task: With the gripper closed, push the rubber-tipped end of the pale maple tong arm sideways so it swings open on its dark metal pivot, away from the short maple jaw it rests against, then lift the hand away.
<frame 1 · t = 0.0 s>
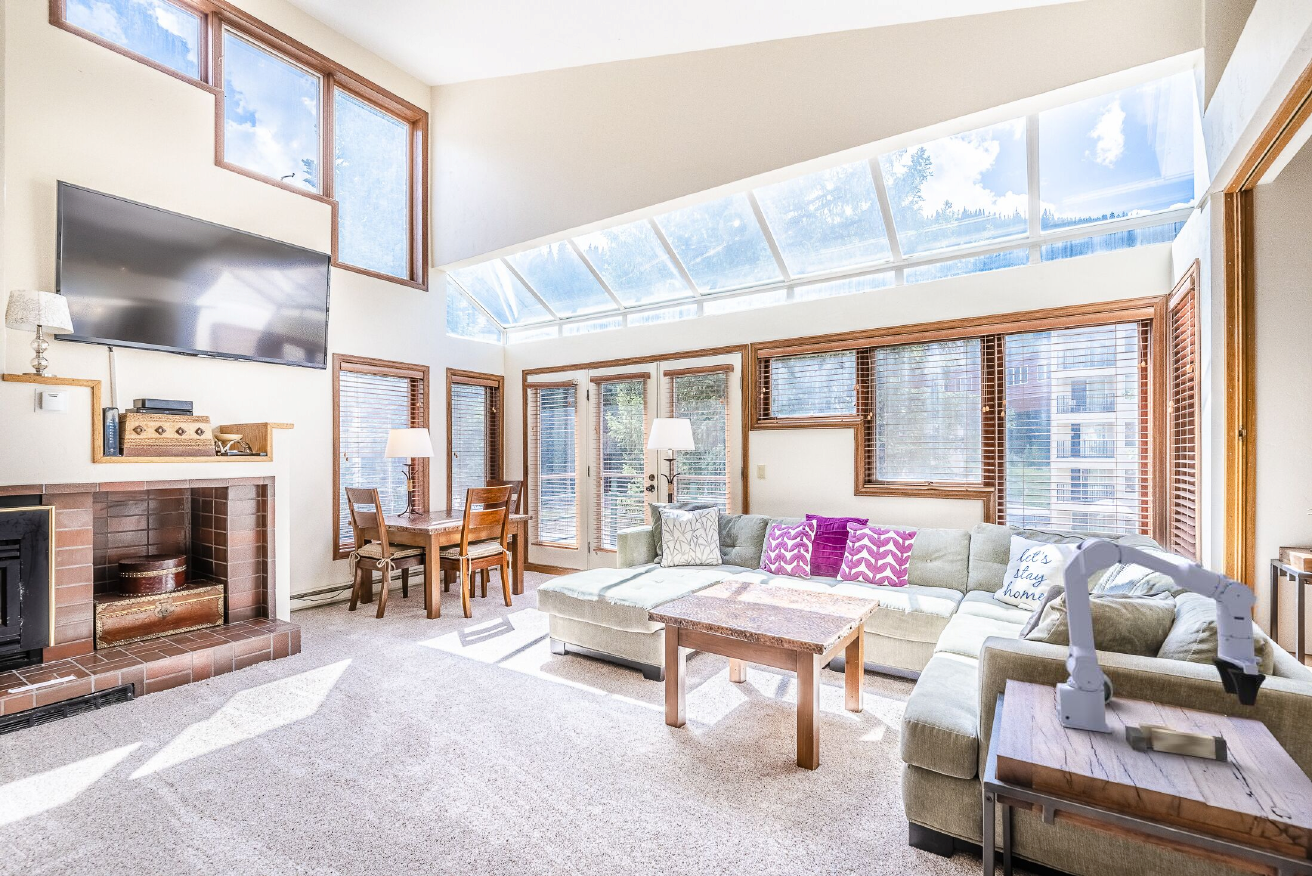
hand: (1239, 698, 133), 10 cm above the table, tool pointing down, fingers open, 7 cm apart
tong pivot: (1150, 749, 131), on the table
tong arm: (1187, 743, 128), point 2 cm above the table, hinge at 0.0°
ceramic mug: (1089, 700, 160), on the table
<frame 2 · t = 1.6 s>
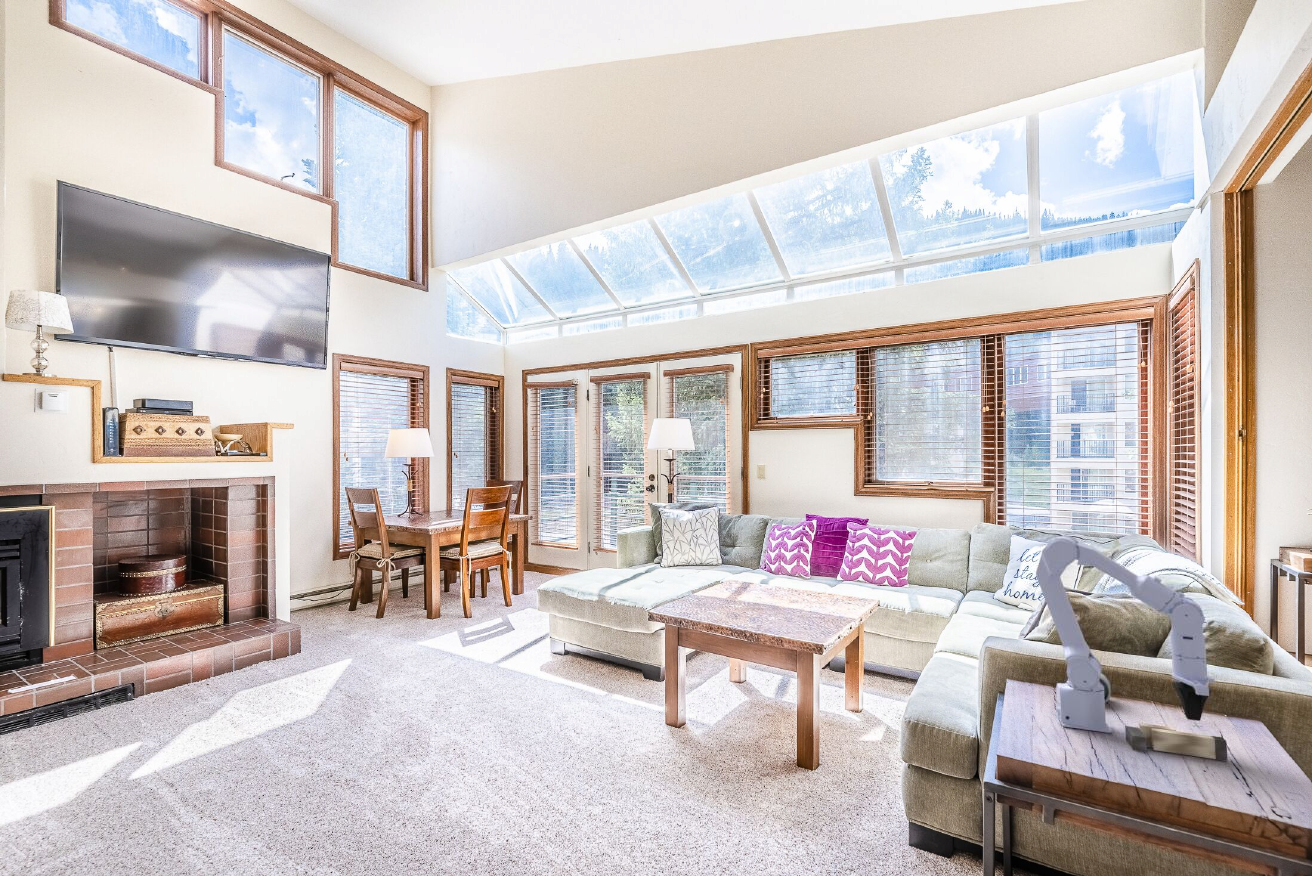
hand: (1193, 719, 132), 6 cm above the table, tool pointing down, fingers closed
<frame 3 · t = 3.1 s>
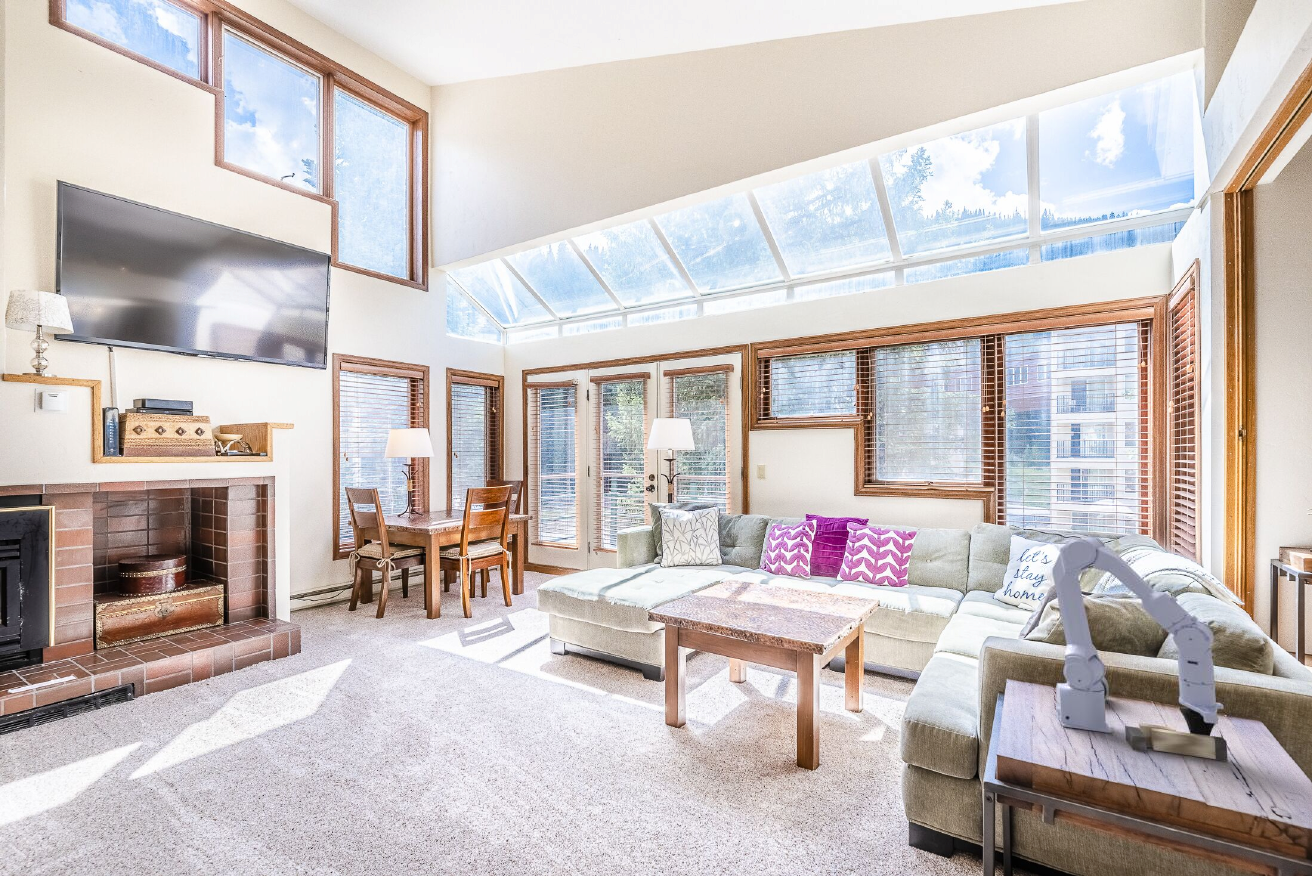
hand: (1200, 746, 129), 2 cm above the table, tool pointing down, fingers closed, pressing on tong arm
tong arm: (1188, 743, 128), point 2 cm above the table, hinge at 0.3°, touching gripper
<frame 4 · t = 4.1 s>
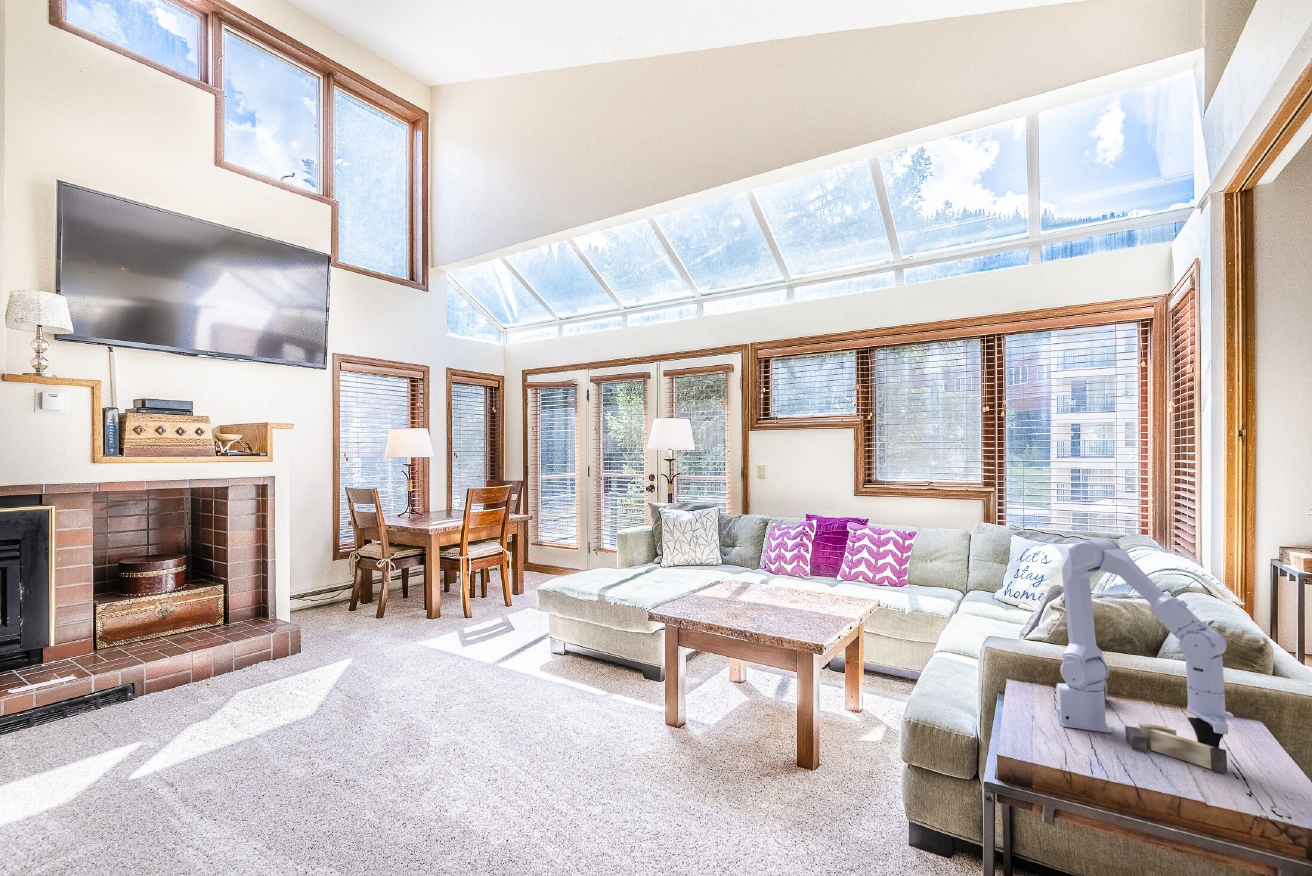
hand: (1209, 756, 124), 1 cm above the table, tool pointing down, fingers closed, pressing on tong arm
tong arm: (1186, 749, 126), point 2 cm above the table, hinge at 35.8°, touching gripper
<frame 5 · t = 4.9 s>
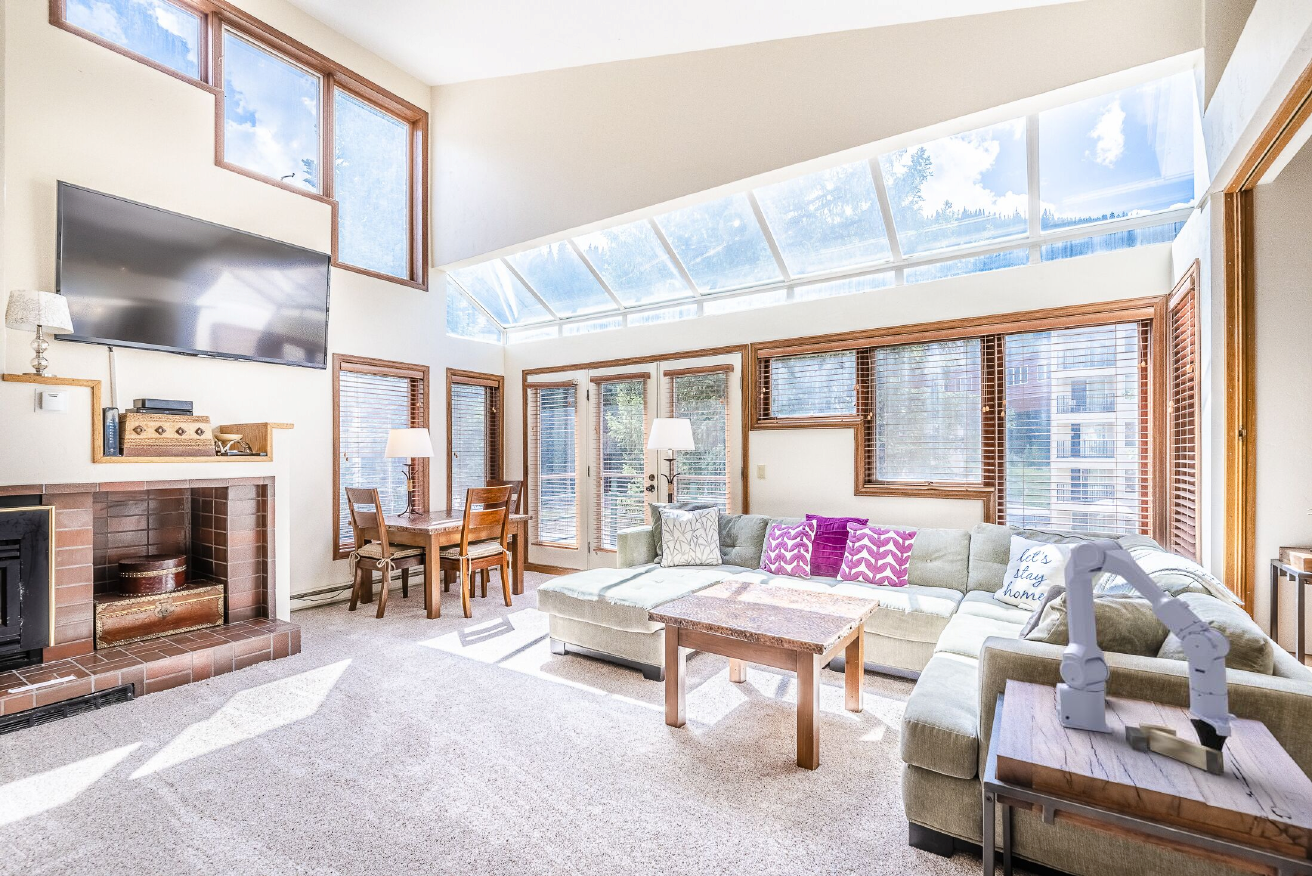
hand: (1212, 759, 123), 2 cm above the table, tool pointing down, fingers closed
tong arm: (1184, 750, 125), point 2 cm above the table, hinge at 43.3°, touching gripper
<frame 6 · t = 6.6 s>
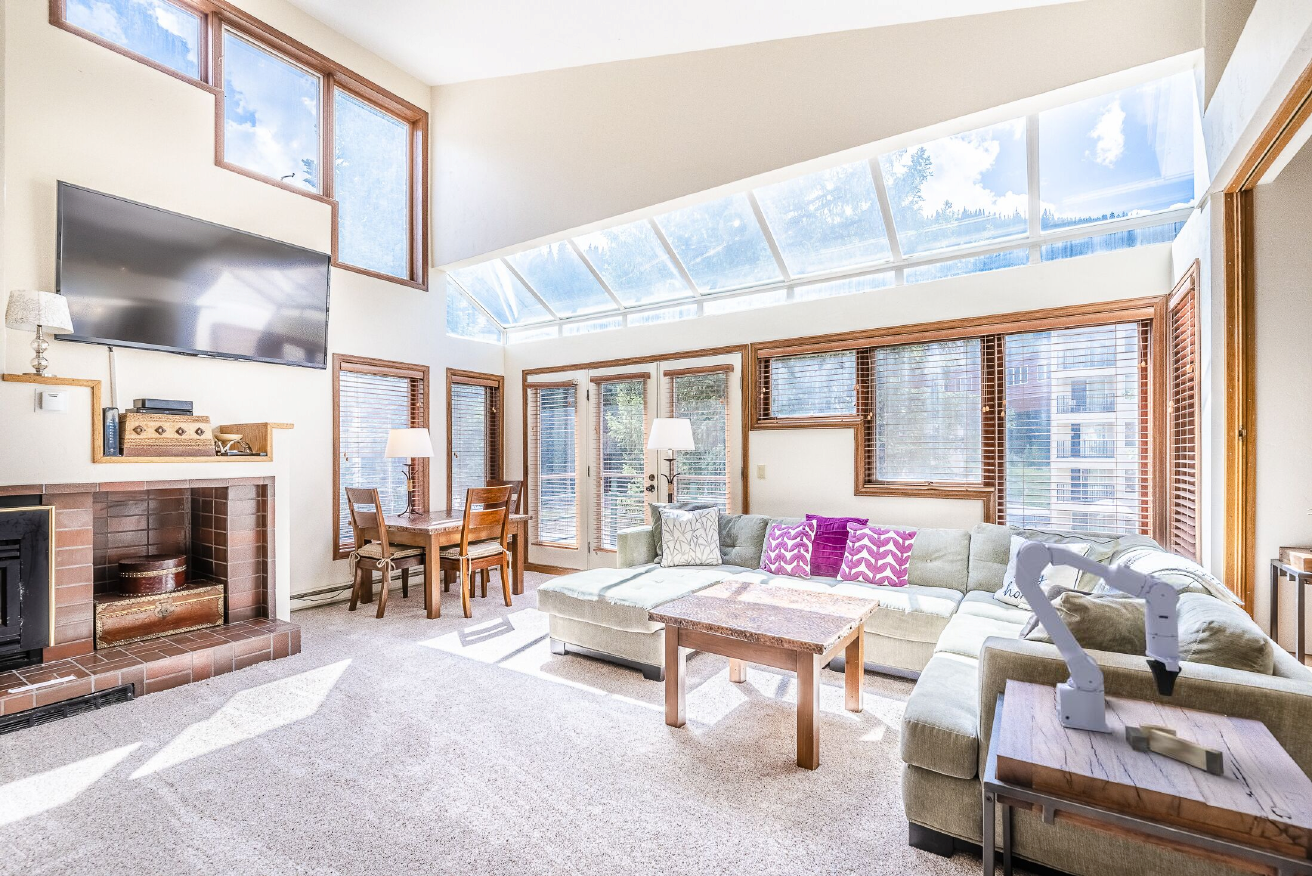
hand: (1165, 694, 138), 9 cm above the table, tool pointing down, fingers closed
tong arm: (1184, 750, 125), point 2 cm above the table, hinge at 43.7°
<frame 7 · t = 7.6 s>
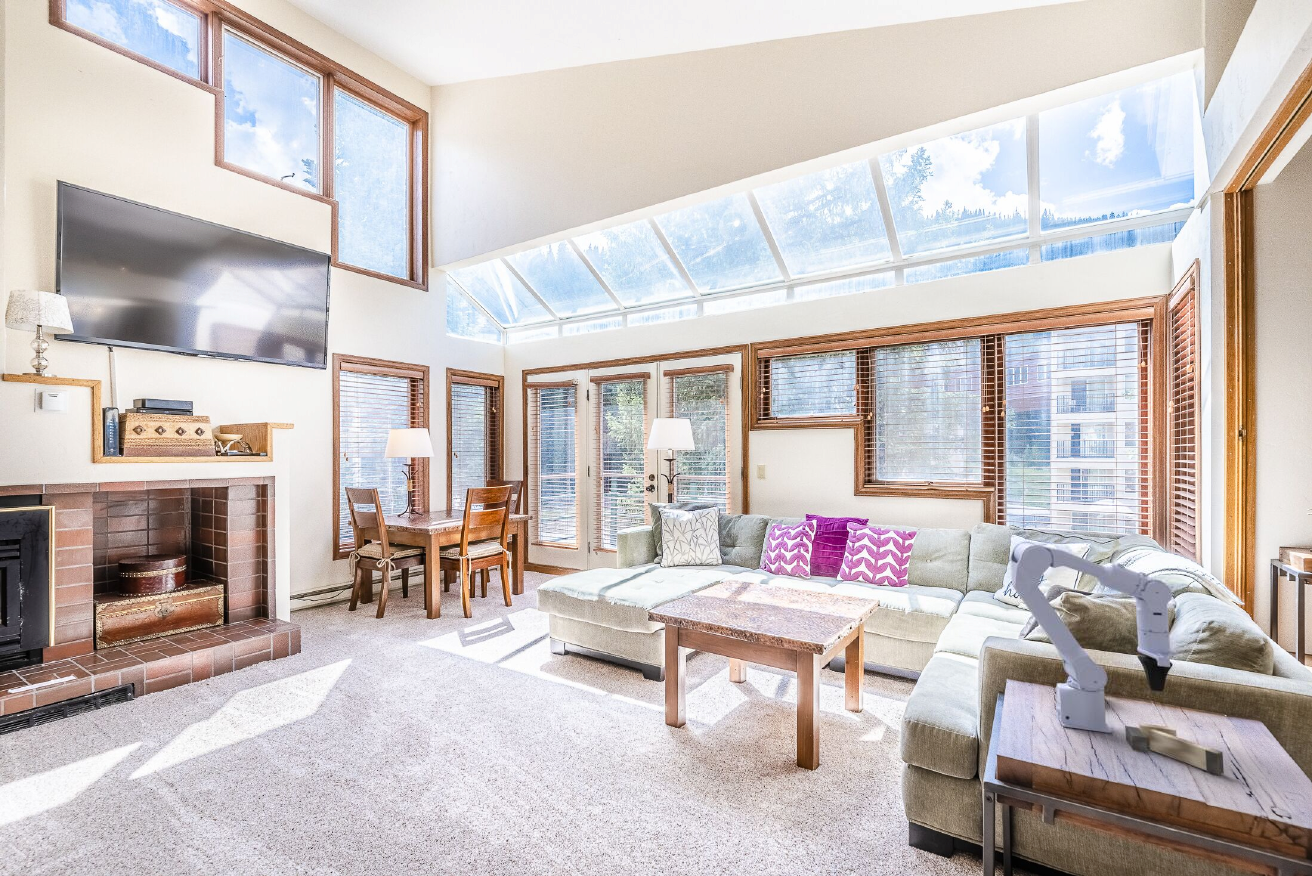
hand: (1156, 690, 141), 9 cm above the table, tool pointing down, fingers closed
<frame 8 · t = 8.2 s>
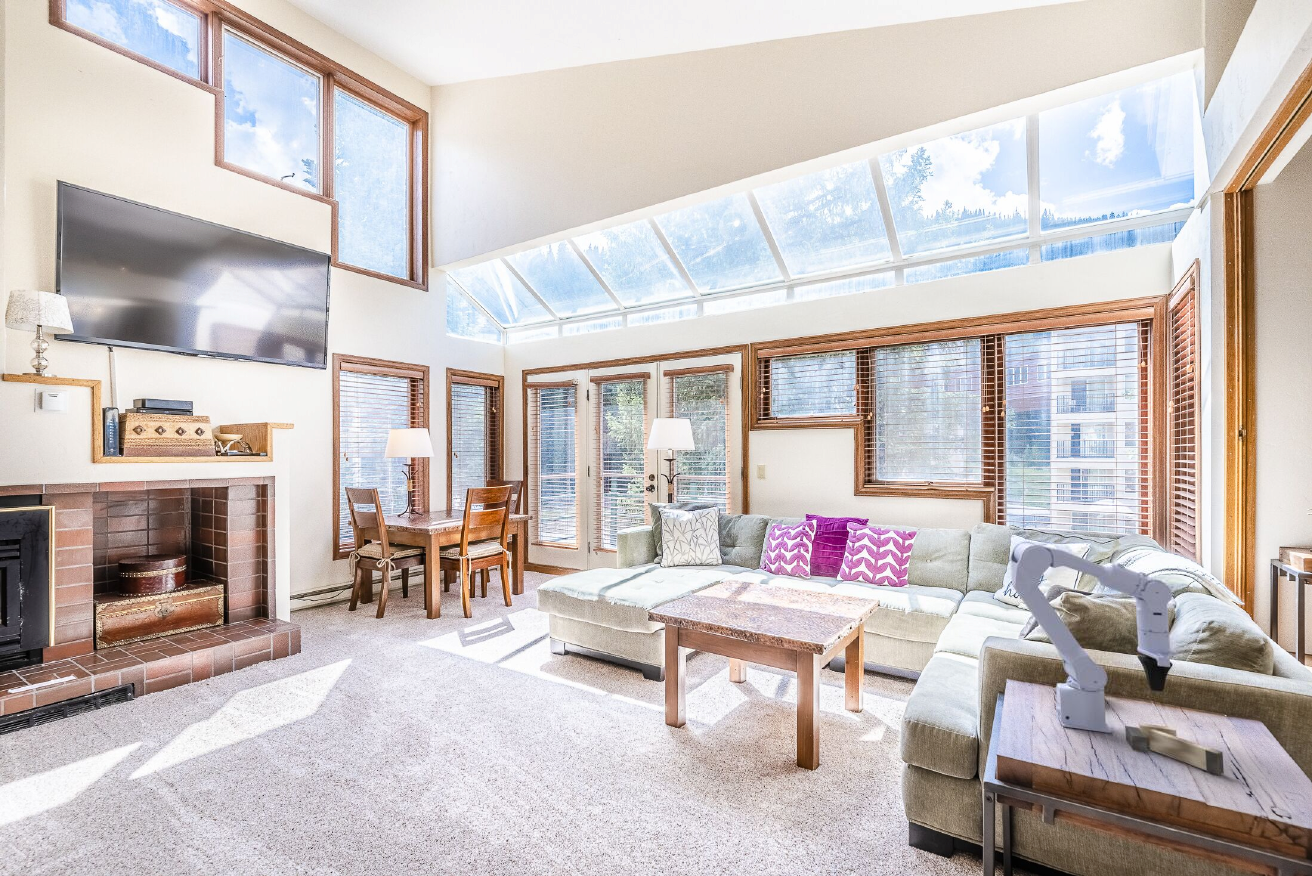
hand: (1156, 690, 141), 9 cm above the table, tool pointing down, fingers closed
at the end: tong arm at +44° (first picture: +0°) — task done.
